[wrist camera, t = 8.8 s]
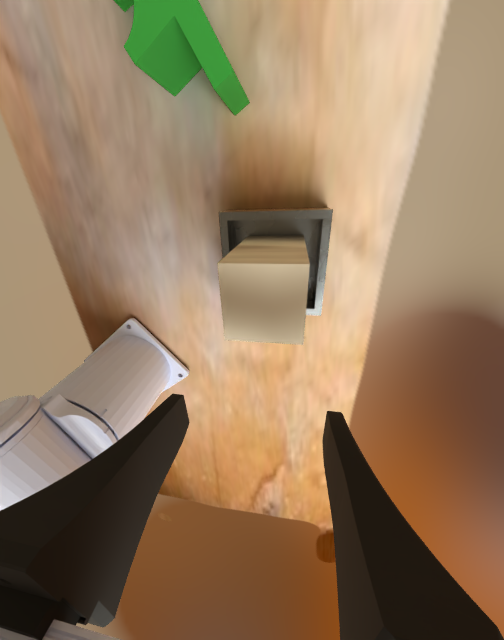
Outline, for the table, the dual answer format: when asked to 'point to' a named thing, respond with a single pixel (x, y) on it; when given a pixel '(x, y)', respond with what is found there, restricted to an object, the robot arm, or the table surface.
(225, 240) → the dark gray open tray
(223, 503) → the table surface
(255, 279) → the rail post
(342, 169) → the table surface
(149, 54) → the pipe clamp
